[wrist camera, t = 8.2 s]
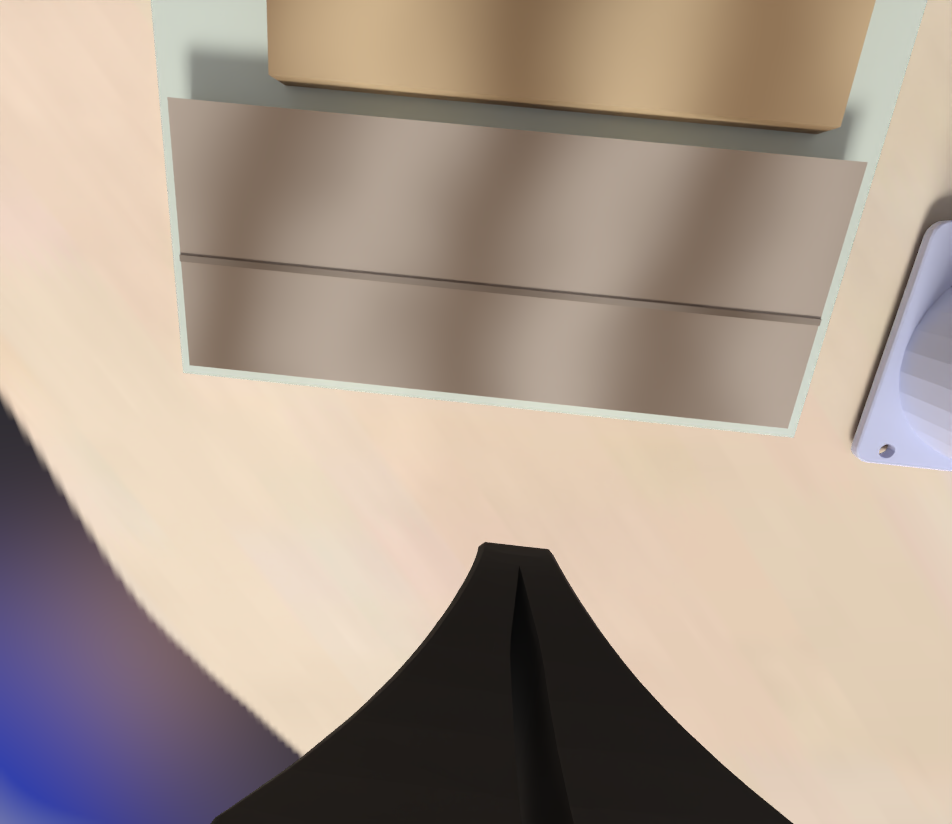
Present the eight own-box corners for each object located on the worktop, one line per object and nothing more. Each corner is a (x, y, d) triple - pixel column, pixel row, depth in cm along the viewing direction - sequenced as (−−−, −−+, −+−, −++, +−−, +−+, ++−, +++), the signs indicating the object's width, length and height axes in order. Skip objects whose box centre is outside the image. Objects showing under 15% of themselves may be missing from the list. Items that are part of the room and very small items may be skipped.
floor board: (843, 166, 16) (869, 162, 15) (771, 416, 19) (788, 429, 18) (190, 105, 17) (166, 96, 16) (208, 357, 19) (188, 365, 18)
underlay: (1019, -319, 13) (1027, -327, 13) (790, 435, 19) (793, 437, 19) (122, -382, 14) (116, -391, 13) (186, 371, 20) (183, 372, 20)
